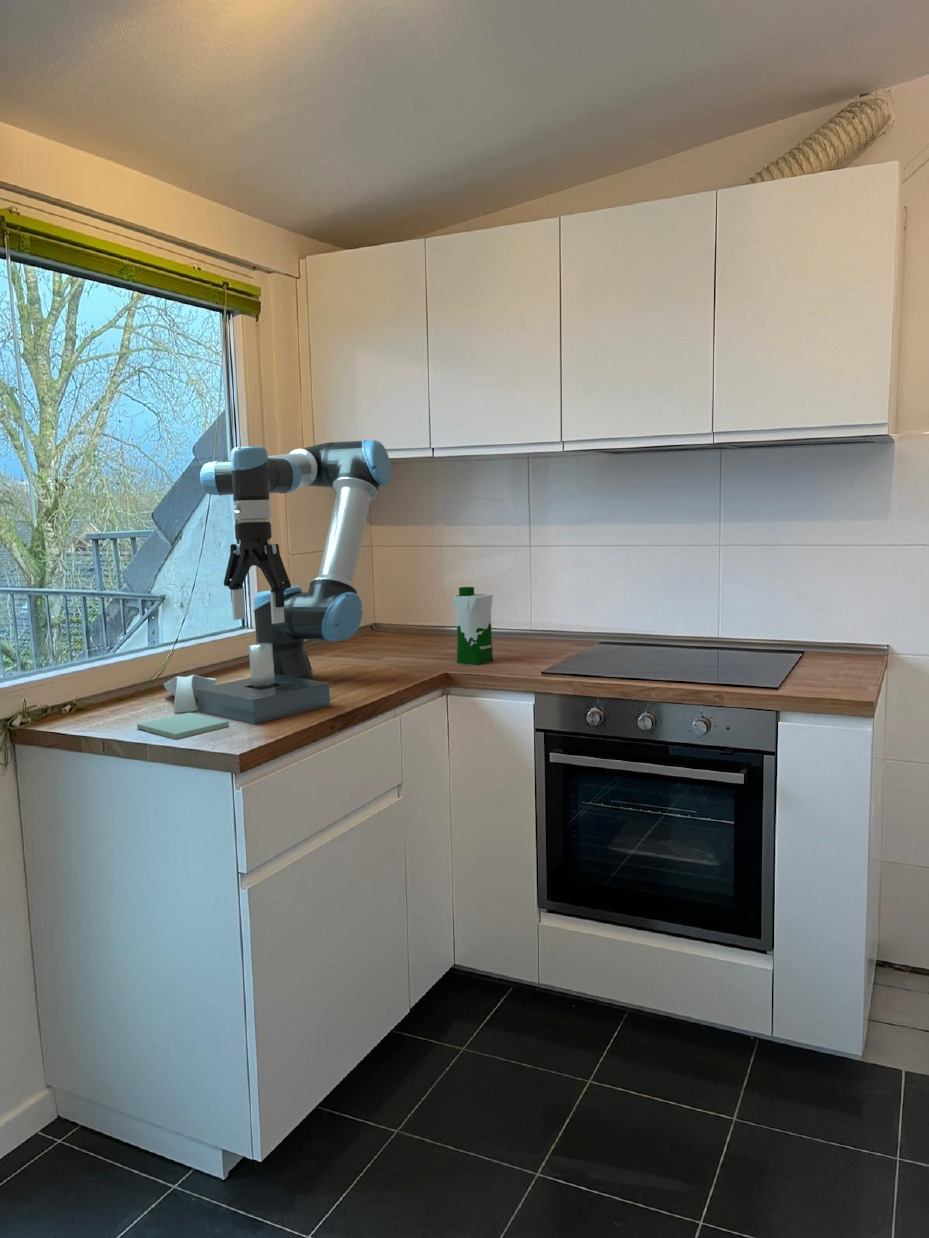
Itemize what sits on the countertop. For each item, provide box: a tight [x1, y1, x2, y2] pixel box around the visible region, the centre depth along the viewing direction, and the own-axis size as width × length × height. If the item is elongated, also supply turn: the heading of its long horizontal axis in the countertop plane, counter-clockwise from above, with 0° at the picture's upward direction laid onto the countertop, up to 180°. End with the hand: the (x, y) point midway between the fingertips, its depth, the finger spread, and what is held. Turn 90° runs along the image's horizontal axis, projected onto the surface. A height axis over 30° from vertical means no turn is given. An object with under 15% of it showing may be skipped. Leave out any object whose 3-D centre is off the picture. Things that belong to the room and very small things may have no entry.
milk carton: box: [452, 586, 494, 666], centre depth 247 cm, size 9×9×20 cm
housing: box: [196, 674, 331, 725], centre depth 200 cm, size 20×20×5 cm
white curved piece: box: [163, 674, 217, 714], centre depth 210 cm, size 24×12×7 cm, turn 13°
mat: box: [136, 712, 230, 740], centre depth 185 cm, size 14×12×1 cm
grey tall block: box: [248, 643, 275, 690], centre depth 199 cm, size 5×5×14 cm
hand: (258, 621), depth 197 cm, fingers open, 13 cm apart
